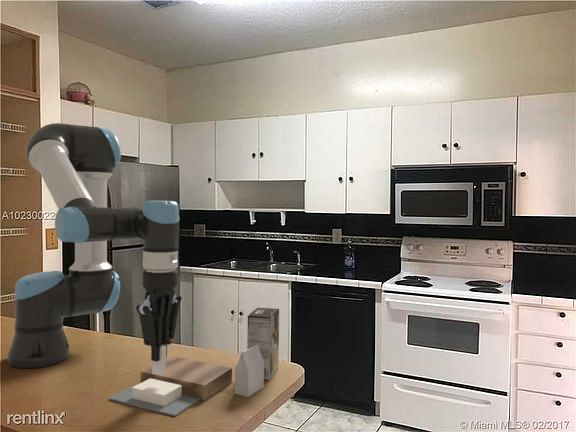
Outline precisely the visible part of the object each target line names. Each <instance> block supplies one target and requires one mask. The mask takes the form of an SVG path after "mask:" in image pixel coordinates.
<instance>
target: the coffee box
mask: <svg viewBox="0 0 576 432" xmlns="http://www.w3.org/2000/svg"><path fill="white" fill-rule="evenodd" d="M279 334H280V308H271V307H270V308H269V307H267V308H266V307H256V308H255V309H253V311H251V312H250V313H249V314H248V315H247V337H246V338H247V340H246V341H247V349H249V348H251V347H253V346H255V345H259V350H260V353H261V356H262V358H263V361H264V380H268V381H269V380H271V379H272V378H273V376H274V374H275V373H276V371H277V369H278V368H279V350H280V348H279V343H280V341H279V339H280V337H279V336H280V335H279ZM247 349H246V350H247Z"/></svg>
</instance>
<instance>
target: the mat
mask: <svg viewBox="0 0 576 432" xmlns="http://www.w3.org/2000/svg"><path fill="white" fill-rule="evenodd" d="M138 384H139V383H136V384H134V385H132V386H130V387H128V388H126V389H124V390H122V391H121V392H120V391H119V392H118V393H116V394H114V395H113V396H110V397H108V400H109V401H113V402H116V403H120V404H124V405H129V406H131V407H132V406H133V407H135V408H139V409H143V410H147V411H152V412H155V413H159V414H163V415H167V416H172V417H177V416H178V415H180V414H181V413H183V412H184V411H186V410H187V409H189V408H190V407H192V406H194V405H195V404H197V403H198V402H200V401H201V400H200V398H195V397H191V396H187V395H182V396H181V397H179V398H177V399H176V400H174V401H172V402H171V403H169V404H167V405H166V406H161V405H157V404H153V403H149V402H145V401H141V400H137V399H133V398H132V387H134V386H136V385H138ZM199 400H200V401H199Z"/></svg>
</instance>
